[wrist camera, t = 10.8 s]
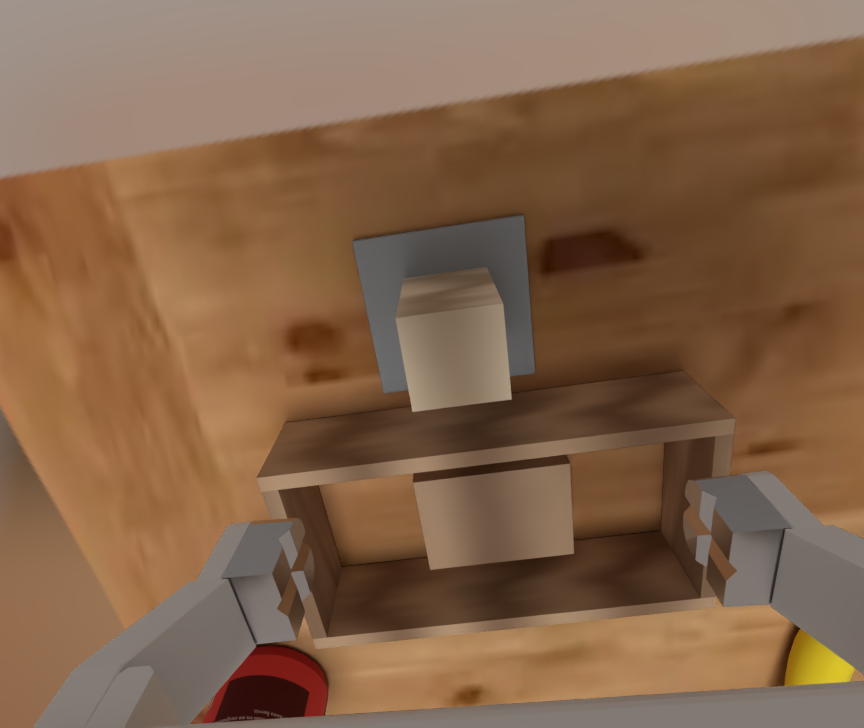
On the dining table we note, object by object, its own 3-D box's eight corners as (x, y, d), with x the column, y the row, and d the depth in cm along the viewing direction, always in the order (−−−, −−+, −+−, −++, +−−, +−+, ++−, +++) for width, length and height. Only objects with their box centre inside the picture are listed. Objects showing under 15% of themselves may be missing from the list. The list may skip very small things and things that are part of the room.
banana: (745, 731, 39) (800, 834, 33) (821, 542, 31) (911, 633, 25) (782, 731, 39) (844, 834, 33) (868, 541, 31) (968, 633, 25)
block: (486, 266, 24) (503, 303, 18) (494, 344, 25) (511, 399, 20) (403, 278, 24) (395, 318, 19) (416, 354, 26) (412, 411, 20)
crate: (683, 370, 27) (735, 418, 22) (673, 539, 31) (715, 607, 27) (285, 423, 28) (256, 478, 23) (332, 577, 32) (316, 649, 28)
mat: (522, 214, 23) (523, 215, 23) (533, 370, 27) (535, 373, 26) (353, 240, 24) (352, 241, 23) (384, 389, 27) (383, 393, 27)
